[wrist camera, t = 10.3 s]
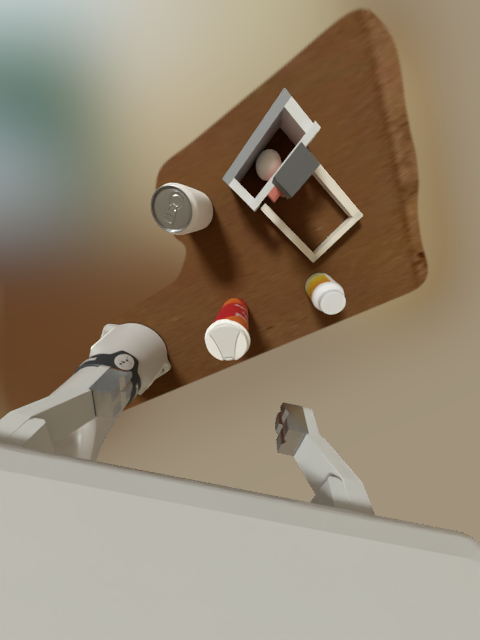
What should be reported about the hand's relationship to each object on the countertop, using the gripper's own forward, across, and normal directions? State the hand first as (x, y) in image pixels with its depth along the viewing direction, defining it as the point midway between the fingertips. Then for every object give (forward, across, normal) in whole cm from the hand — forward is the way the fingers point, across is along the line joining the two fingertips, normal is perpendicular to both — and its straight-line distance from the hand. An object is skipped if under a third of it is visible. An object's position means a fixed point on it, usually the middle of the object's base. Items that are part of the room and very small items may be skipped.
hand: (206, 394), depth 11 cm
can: (+35, +10, -7) cm, 37 cm away
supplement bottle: (+34, -16, +1) cm, 38 cm away
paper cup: (+35, 0, +10) cm, 36 cm away
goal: (+34, -1, -16) cm, 38 cm away
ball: (+32, -1, -16) cm, 36 cm away
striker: (+34, -4, -14) cm, 37 cm away
